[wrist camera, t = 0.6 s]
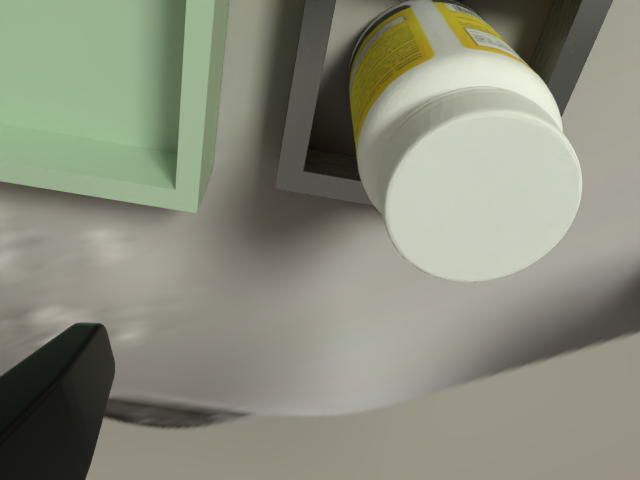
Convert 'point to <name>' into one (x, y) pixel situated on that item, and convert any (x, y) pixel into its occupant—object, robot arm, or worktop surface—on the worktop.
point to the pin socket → (342, 170)
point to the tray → (112, 97)
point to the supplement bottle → (459, 143)
